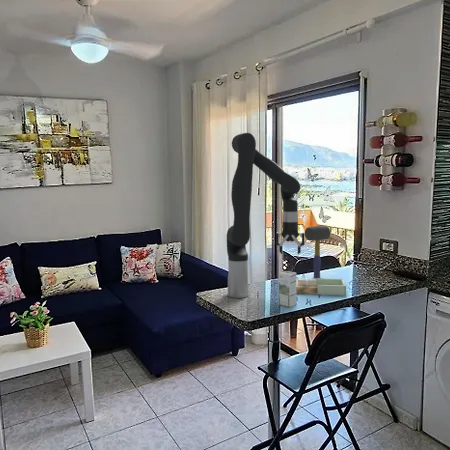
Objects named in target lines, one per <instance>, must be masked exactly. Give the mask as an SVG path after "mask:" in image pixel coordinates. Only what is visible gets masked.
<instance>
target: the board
mask: <svg viewBox="0 0 450 450" xmlns="http://www.w3.org/2000/svg"><path fill="white" fill-rule="evenodd" d="M317 292H318V287H317V283H316V285H298V280H296V294H310V295H311V294H312V295H313V294H314V295H315V294H316V295H318V294H317Z"/></svg>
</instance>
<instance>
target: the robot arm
mask: <svg viewBox="0 0 450 450" xmlns="http://www.w3.org/2000/svg"><path fill="white" fill-rule="evenodd" d="M231 147H232V149H233V151H234V152H235V153H237V166H236V169H235V172H234V175H233V177H232V178H233V179H232V182H231V193H230V195H231V205H232V210H233V225H231V226H230V227H229V228H228V229H227V231H226V254H227V257H228V259H227V261H228V262H227V263H228V264H227V265H228V267H227V268H228V276H227V297H228V298H234V299H242V298H247V297H248V296H249V255H248V252H247V249H246V248H247V247H246V245H247V244H248V243H249V241H250V239H251V228H250V227H251V225H250V211H251V204H252V203H251V202H252V190H253V189H252V188H253V173H254V170H253V169H254V166H255V167H257V168H258V169H259V170H261V171H262V172H263V174H265V175H266V176H267V177H268V178H269V179H271V180H272V181H273V182H274V183H276V184H278V185H280V195H281V199H282V203H283V204H282V219H281V221H282V222H281V223H282V227H281V228H282V231H281V232H278V231H277V232H276V233H275V245H276V246H277V247H279V248H278V249H279V254H280V255H283V245H284V244H285V242H288V243H289V242H291V243H293V242H295V244H296V245H297V255H300V254H301V251H302V250H301V248H302V246H305V239H306V237H305V232H299V212H298V211H299V210H298V209H299V208H298V206H299V204H298V200H297V199H296V198H295V194H298V193H299V192H300V190H301V183H300V182H299V180H298V179H296V177H294V176H293V175H291V174H289V173H288V172H286V171H285V170H284V169H283V168H282V167H281V166H279V165H278V163H276V162H275V161H273V159H271V158H269V157H268V156H266V155H264V154H263V153H261V152H260V151H259V150H258V149H257V141H256V138H255V136H254V135H253V133H251V132H244V133H239V134H236V135H235V136H234V137H233V138H232V140H231ZM299 236H300V238H301V242H300V241H299V240H298V237H299ZM280 237H282V238H283V239H282V240H281V241H280V242H279V238H280Z"/></svg>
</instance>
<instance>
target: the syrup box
mask: <svg viewBox="0 0 450 450" xmlns="http://www.w3.org/2000/svg"><path fill="white" fill-rule="evenodd" d="M296 281H297V272H294V271H288V270H282V271H280V272H278V305H279V306H282V307H286V308H292V307H294V306H296V305H297V293H296Z"/></svg>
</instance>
